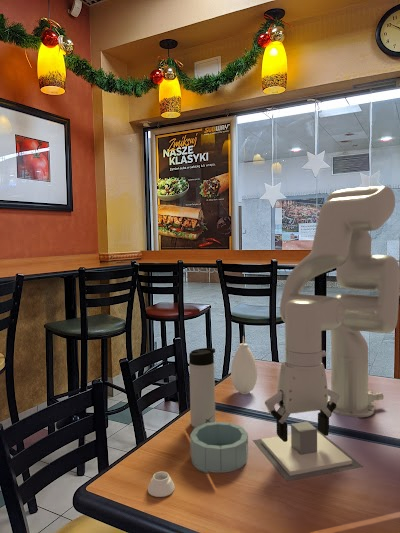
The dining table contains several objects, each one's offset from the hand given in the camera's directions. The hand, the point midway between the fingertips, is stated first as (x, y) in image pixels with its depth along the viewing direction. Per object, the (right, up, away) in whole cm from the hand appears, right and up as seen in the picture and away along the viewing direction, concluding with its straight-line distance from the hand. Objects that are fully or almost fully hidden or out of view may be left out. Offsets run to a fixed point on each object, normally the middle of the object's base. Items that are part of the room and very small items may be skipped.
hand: (303, 436), depth 89 cm
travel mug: (-21, -4, +16) cm, 27 cm away
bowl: (-18, -5, 0) cm, 19 cm away
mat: (0, -4, +1) cm, 5 cm away
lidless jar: (-30, -6, -11) cm, 32 cm away
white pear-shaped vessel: (-9, -3, +38) cm, 39 cm away
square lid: (0, -4, +1) cm, 4 cm away
